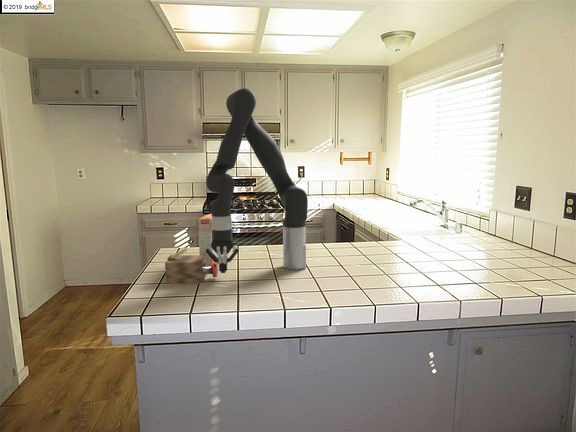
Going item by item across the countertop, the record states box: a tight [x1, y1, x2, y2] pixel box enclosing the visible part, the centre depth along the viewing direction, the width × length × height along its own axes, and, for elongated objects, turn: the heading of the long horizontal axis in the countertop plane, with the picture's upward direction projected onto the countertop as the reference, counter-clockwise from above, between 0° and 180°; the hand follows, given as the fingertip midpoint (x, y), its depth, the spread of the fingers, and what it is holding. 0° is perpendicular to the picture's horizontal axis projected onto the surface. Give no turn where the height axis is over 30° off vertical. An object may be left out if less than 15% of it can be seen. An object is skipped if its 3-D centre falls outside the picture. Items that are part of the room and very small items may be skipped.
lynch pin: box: [203, 263, 219, 278], centre depth 154 cm, size 15×5×5 cm, turn 90°
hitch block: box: [164, 254, 208, 285], centre depth 154 cm, size 13×10×8 cm
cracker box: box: [197, 212, 223, 267], centre depth 173 cm, size 14×6×21 cm, turn 168°
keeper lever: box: [167, 247, 188, 260], centre depth 153 cm, size 7×4×1 cm, turn 90°
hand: (223, 272), depth 154 cm, fingers closed
